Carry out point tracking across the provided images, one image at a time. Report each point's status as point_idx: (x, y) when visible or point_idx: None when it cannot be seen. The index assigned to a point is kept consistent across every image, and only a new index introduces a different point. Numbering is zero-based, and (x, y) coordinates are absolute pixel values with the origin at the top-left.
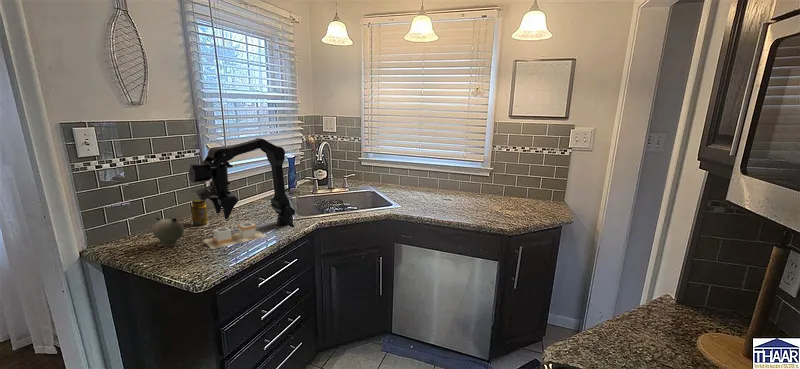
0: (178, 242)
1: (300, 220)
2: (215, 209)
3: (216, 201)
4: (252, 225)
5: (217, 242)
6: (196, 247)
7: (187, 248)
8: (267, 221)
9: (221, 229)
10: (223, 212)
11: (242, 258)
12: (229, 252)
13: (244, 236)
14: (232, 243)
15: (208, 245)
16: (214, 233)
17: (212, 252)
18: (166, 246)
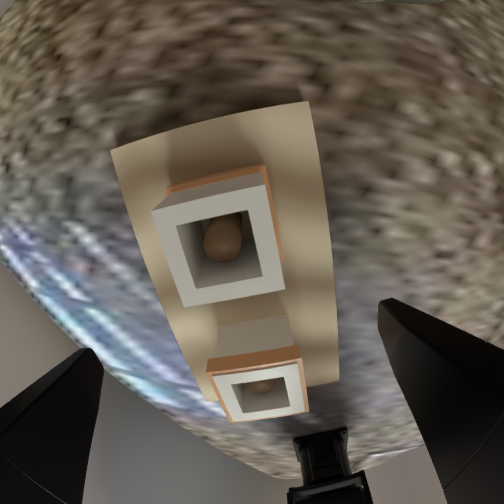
0: (370, 2)
1: None
2: (422, 324)
3: (486, 452)
4: (230, 412)
5: (175, 184)
6: (238, 64)
7: (246, 22)
8: None
9: (256, 246)
10: (29, 398)
11: (25, 268)
12: (87, 229)
13: (218, 335)
14: (159, 263)
15: (183, 128)
16: (242, 182)
17: (114, 148)
18: None
